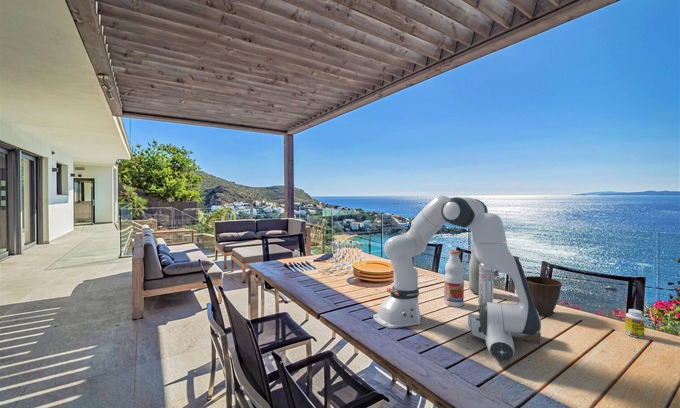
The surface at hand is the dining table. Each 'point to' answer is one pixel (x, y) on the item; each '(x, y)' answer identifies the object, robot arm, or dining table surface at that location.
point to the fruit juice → (454, 281)
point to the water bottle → (485, 284)
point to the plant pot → (544, 293)
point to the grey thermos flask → (474, 273)
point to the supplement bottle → (634, 323)
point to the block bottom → (531, 338)
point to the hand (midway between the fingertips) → (493, 316)
